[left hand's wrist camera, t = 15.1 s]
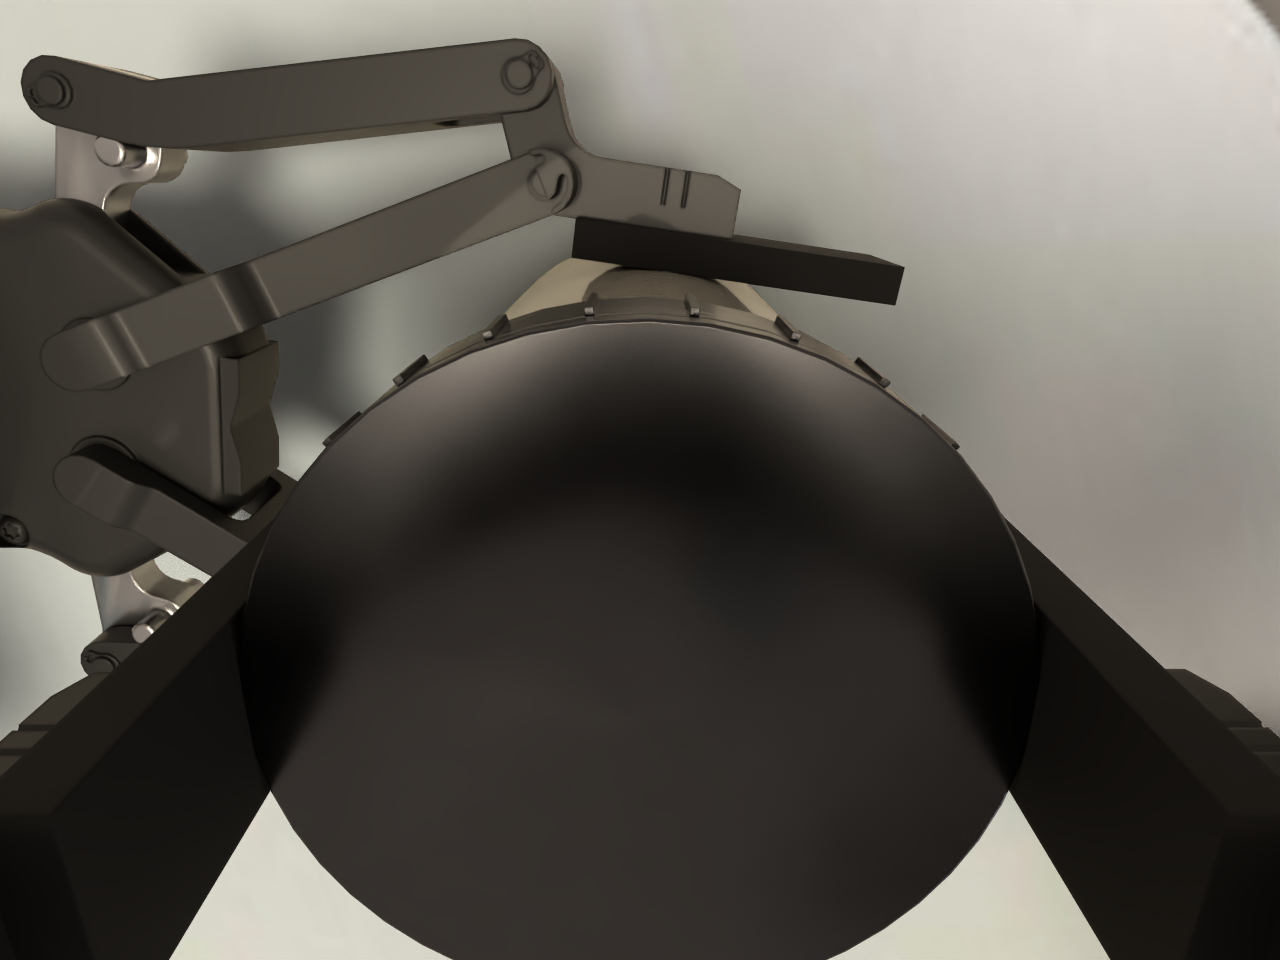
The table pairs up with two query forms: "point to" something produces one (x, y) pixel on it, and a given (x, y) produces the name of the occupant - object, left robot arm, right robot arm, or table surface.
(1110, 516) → the table surface
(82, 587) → the table surface
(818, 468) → the lid
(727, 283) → the jar
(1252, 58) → the table surface
